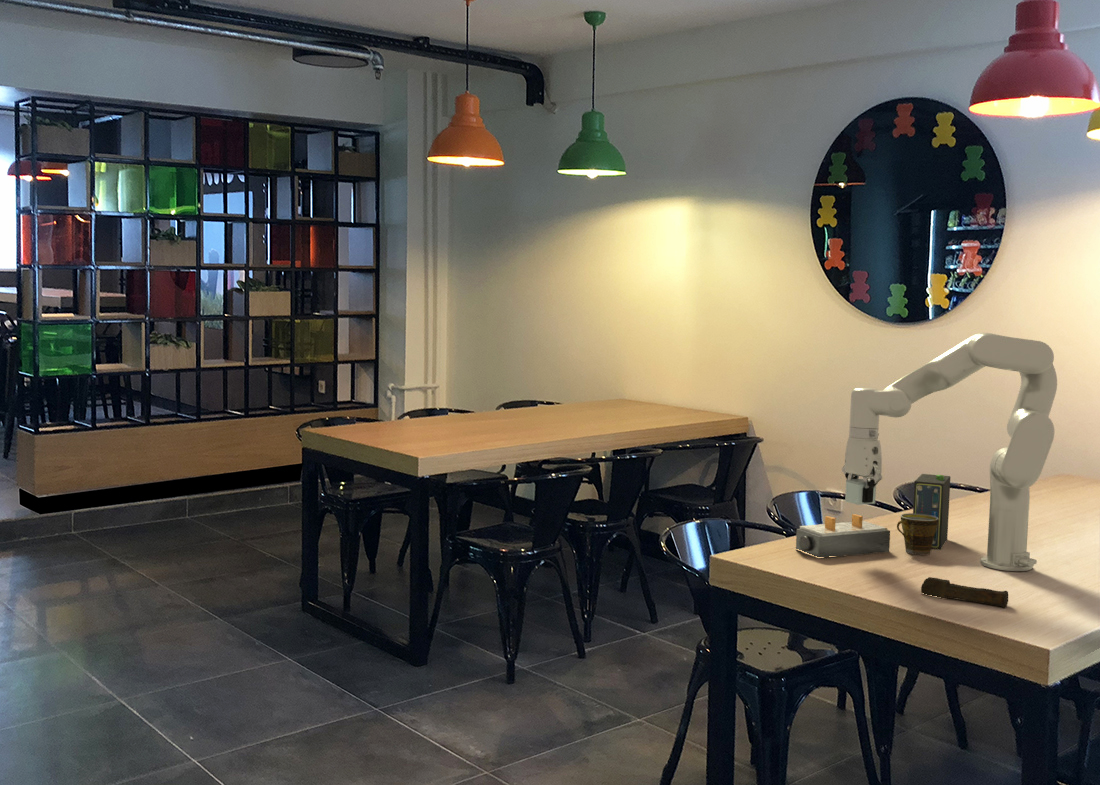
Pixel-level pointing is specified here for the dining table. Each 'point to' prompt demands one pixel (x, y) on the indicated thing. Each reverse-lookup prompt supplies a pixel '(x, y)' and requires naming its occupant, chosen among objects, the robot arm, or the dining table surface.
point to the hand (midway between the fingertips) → (860, 499)
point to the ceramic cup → (918, 532)
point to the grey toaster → (843, 538)
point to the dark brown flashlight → (963, 592)
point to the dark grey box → (933, 503)
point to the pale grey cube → (856, 491)
